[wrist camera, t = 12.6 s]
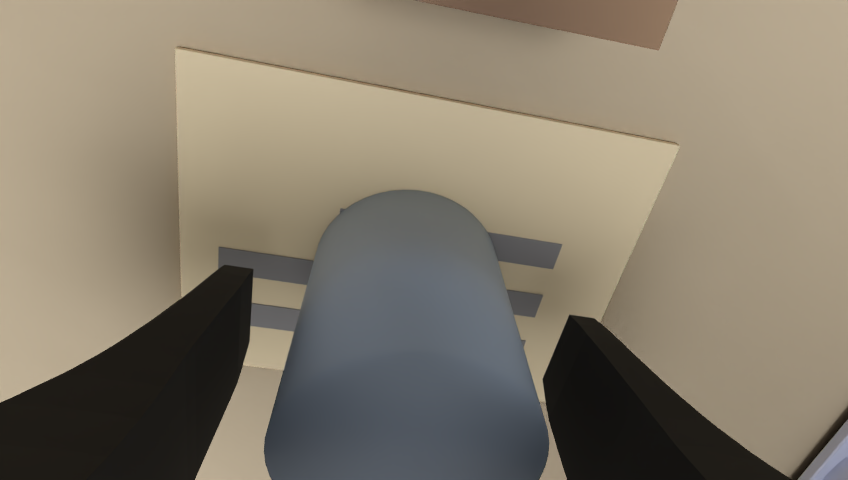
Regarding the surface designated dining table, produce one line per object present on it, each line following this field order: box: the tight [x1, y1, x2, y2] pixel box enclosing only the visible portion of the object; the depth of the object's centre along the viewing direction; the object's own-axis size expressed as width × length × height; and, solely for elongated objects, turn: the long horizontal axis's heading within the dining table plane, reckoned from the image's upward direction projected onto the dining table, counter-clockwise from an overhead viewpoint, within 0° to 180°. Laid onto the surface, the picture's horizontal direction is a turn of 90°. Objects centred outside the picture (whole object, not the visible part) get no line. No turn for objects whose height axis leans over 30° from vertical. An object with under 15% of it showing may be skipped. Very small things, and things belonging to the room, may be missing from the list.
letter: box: [175, 47, 680, 402], centre depth 15 cm, size 12×9×1 cm
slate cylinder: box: [264, 190, 549, 480], centre depth 12 cm, size 5×5×6 cm
